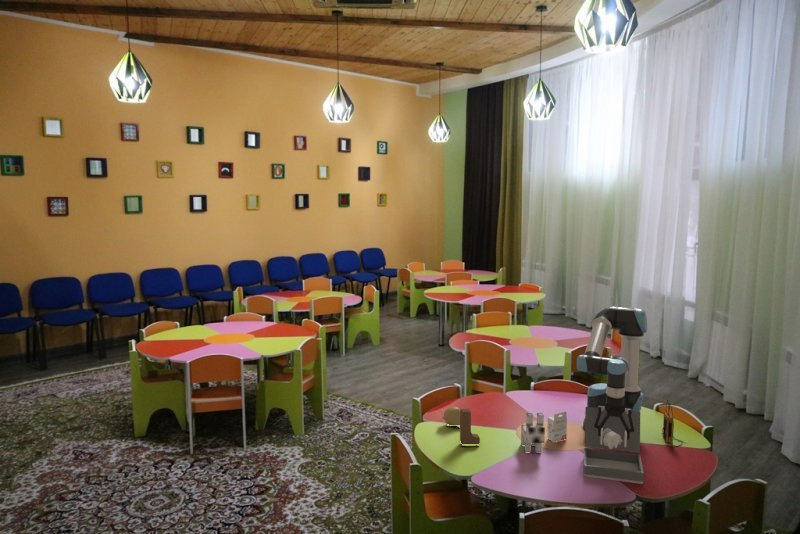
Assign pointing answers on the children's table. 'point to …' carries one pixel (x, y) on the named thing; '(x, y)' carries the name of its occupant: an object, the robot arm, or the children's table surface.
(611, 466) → the case
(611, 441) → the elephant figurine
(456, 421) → the toy pig
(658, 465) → the children's table surface
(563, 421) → the ink cartridge box
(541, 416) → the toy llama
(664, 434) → the multimeter
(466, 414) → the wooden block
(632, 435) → the case lid
